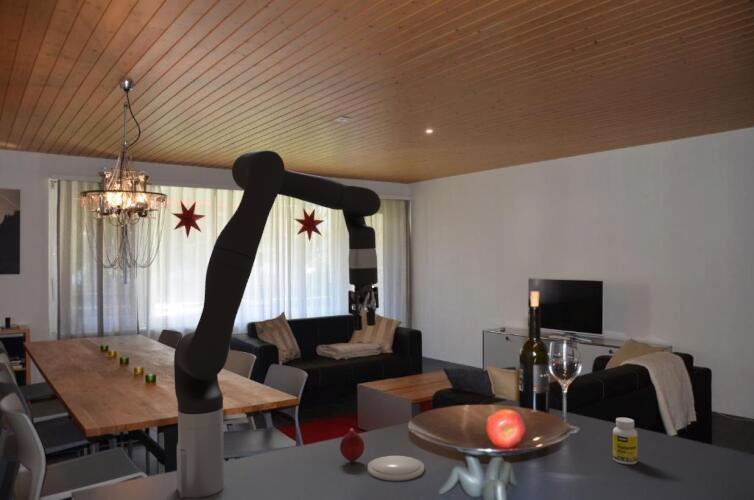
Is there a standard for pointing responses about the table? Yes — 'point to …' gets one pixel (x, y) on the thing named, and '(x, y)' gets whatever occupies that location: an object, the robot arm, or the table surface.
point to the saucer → (395, 468)
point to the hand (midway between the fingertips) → (364, 327)
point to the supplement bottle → (625, 441)
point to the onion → (352, 446)
